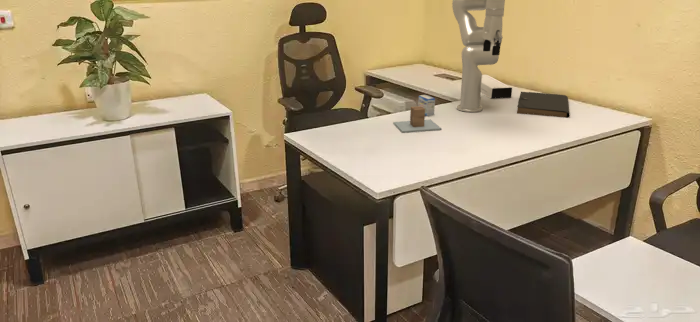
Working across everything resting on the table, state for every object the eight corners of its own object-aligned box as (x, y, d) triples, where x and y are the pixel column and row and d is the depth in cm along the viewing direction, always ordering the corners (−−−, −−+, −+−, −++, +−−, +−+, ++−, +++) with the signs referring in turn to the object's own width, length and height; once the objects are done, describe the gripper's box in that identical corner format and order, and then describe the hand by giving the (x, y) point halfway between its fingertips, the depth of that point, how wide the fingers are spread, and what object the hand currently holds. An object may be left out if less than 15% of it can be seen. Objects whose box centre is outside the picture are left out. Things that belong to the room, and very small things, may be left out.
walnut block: (410, 123, 242) (410, 106, 239) (420, 123, 243) (421, 106, 240) (413, 127, 237) (414, 109, 234) (424, 126, 238) (425, 109, 235)
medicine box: (417, 112, 262) (418, 95, 259) (425, 111, 264) (425, 94, 261) (426, 116, 255) (427, 99, 252) (434, 115, 257) (435, 97, 254)
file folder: (520, 90, 287) (568, 94, 279) (519, 98, 288) (567, 102, 281) (516, 106, 258) (570, 111, 250) (515, 114, 259) (568, 119, 252)
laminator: (468, 85, 317) (469, 75, 314) (488, 84, 318) (489, 74, 316) (491, 99, 285) (492, 88, 283) (513, 98, 287) (514, 87, 285)
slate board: (393, 123, 245) (393, 122, 245) (430, 121, 248) (430, 119, 248) (402, 132, 232) (402, 131, 232) (441, 130, 235) (441, 128, 235)
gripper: (478, 10, 233) (475, 50, 239) (494, 15, 217) (490, 57, 224) (494, 10, 234) (491, 49, 241) (511, 14, 218) (507, 56, 225)
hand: (491, 53), depth 232 cm, fingers open, 9 cm apart
